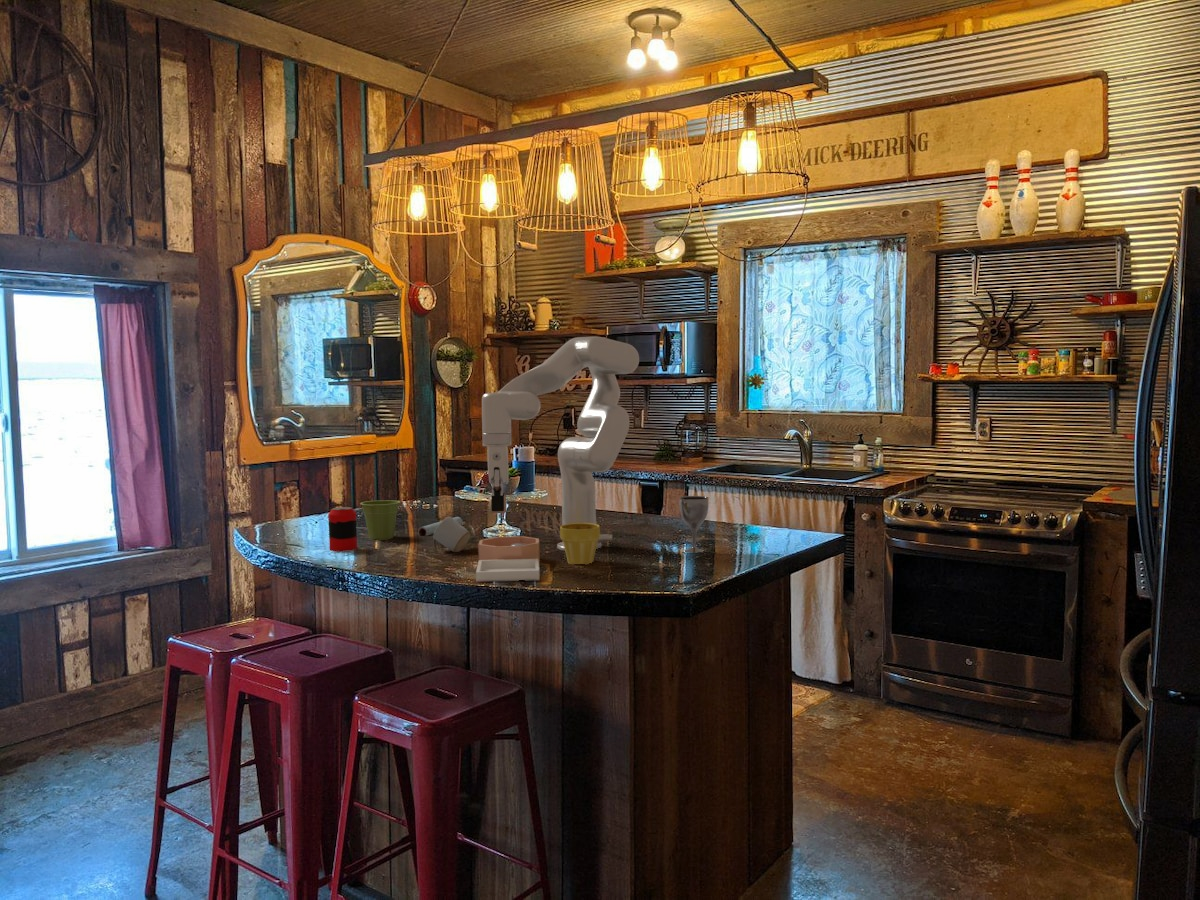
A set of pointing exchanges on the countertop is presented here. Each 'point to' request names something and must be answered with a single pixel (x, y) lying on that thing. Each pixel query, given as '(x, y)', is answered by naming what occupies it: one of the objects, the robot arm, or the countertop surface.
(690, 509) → the wine glass
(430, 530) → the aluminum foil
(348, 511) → the soda can
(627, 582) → the countertop surface
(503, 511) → the tan pebble
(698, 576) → the countertop surface
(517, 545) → the slate pebble
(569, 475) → the robot arm
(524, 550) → the bowl
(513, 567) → the parts tray
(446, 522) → the ceramic mug
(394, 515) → the plant pot
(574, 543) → the plant pot
